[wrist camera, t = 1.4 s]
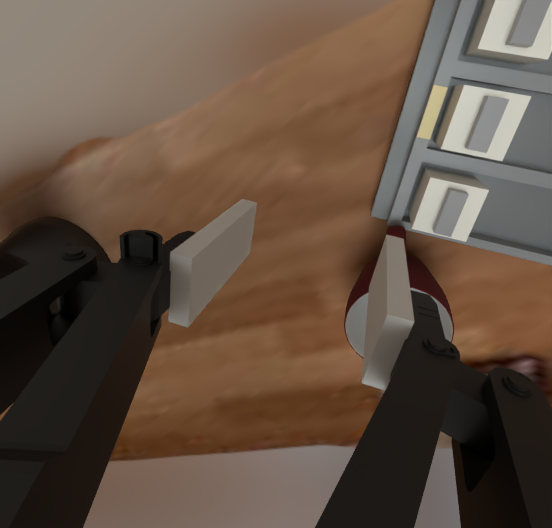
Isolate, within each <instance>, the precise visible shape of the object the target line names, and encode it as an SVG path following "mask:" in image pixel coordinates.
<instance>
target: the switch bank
mask: <svg viewBox="0 0 552 528" xmlns="http://www.w3.org/2000/svg"><path fill="white" fill-rule="evenodd" d="M482 2H483V0H434V2H433V6H432V9H431V12H430V16H429V19H428V22H427V26H426V29H425V32H424V36H423V39H422V42H421V46H420V49H419V52H418V56H417V59H416V62H415V66H414V69H413V72H412V76H411V79H410V82H409V86H408V89H407V92H406V96H405V99H404V102H403V106H402V109H401V112H400V115H399V119H398V122H397V125H396V129H395V132H394V135H393V139H392V142H391V145H390V149H389V152H388V155H387V159H386V162H385V165H384V169H383V172H382V175H381V179H380V182H379V185H378V189H377V192H376V195H375V199H374V202H373V205H372V209H371V215H370V216H372V217H376V218H381V219H385V220H387V226H395V225H397V226H402V227H404V228H405V230H408V231H412V232H416V233H420V234H424V235H428V236H433V237H437V238H441V239H445V240H449V241H453V242H457V243H461V244H465V245H469V246H474V247H478V248H482V249H486V250H490V251H494V252H498V253H502V254H506V255H511V256H515V257H519V258H523V259H527V260H531V261H535V262H539V263H543V264H547V265H552V52H551V54H550V56H549V59H548V60H544V61H539V62H534V63H529V64H524V65H521V64H515V63H508V62H502V61H496V60H490V59H484V58H477V57H471V56H465V55H464V53H465V50H466V47H467V44H468V41H469V38H470V36H471V33H472V30H473V27H474V24H475V21H476V19H477V16H478V13H479V10H480V7H481V4H482ZM457 85H469V86H474V87H480V88H486V89H492V90H498V91H503V92H509V93H515V94H521V95H526V96H531V99H530V101H529V103H528V105H527V108H526V110H525V112H524V114H523V116H522V119H521V121H520V123H519V125H518V127H517V130H516V132H515V134H514V136H513V139H512V141H511V143H510V145H509V147H508V150H507V152H506V154H505V156H504V159H503V161H498V160H493V159H488V158H483V157H478V156H473V155H469V154H464V153H459V152H454V151H449V150H444V149H441V148H440V147H439V146H438V145H437V144H436V143H435V142H434V141H433V140H434V138H435V135H436V132H437V129H438V126H439V123H440V121H441V118H442V115H443V112H444V109H445V106H446V104H447V101H448V98H449V95H450V92H451V89H452V87H453V86H457ZM424 166H426V167H430V168H435V169H440V170H445V171H449V172H454V173H459V174H463V175H468V176H473V177H476V178H477V179H478V180H479V181H480V182H481V183H482V184H483V185H484V186H485V187H486V188H487V189H488V190H489V192H488V194H487V196H486V198H485V201H484V203H483V205H482V207H481V210H480V212H479V214H478V216H477V218H476V221H475V223H474V225H473V227H472V230H471V232H470V234H469V236H468V238H467V241H466V242H464V241H460V240H456V239H452V238H448V237H443V236H439V235H435V234H431V233H427V232H423V231H419V230H415V229H412V228H411V223H410V218H409V213H408V211H409V209H410V206H411V203H412V200H413V197H414V194H415V192H416V189H417V186H418V183H419V180H420V177H421V175H422V172H423V169H424Z"/></svg>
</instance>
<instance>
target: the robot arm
mask: <svg viewBox="0 0 552 528" xmlns="http://www.w3.org/2000/svg"><path fill="white" fill-rule="evenodd" d="M256 208H257V202H253V201H249V200H245V199H241V200H240V201H238V202H237V203H236V204H234V205H233V206H232V207H230V208H229V209H228V210H226V211H225V212H224V213H222V214H221V215H220V216H218V217H217V218H216V219H214V220H213V221H212V222H210V223H209V224H208V225H206V226H205V227H204V228H202V229H201V230H199V231H198V232H197V233H195V232H191V231H186V232H183V233H179V234H177V235H176V236H174V237H173V238H171V240H168V241H167V242H165V244H162V240H163V237H162V236H161V235H160V234H158V233H156V232H153V231H148V230H132V231H128V232H124V233H123V234H121V235H120V251H121V259H120V260H119V262H118V263H110V262H109V260H108V258H107V256H106V255H105V253H104V252H103V250H102V249H101V248H100V246H99V245H98V244H97V243H96V242H95V241H94V240H93V239H92V238H91V237H90V236H89V235H88V234H87V233H86V232H84V231H83V230H82V229H80V228H79V227H77V226H75V225H74V224H72V223H70V222H67V221H65V220H62V219H58V218H51V217H46V218H39V219H36V220H34V221H31V222H28V223H26V224H23V225H21V226H19V227H18V228H16V229H15V230H14V231H13V232H12V233H11V234H10V235H9V236H8V237H7V238H6V239H4V240H3V241H2V242H1V243H0V415H1V414H2V413H3V412H4V411H5V410H6V409H7V408H8V407H9V406H10V405H12V404H13V405H12V406H11V407H10V409H9V410H8V412H7V413H6V414H5V416H4V417H3V418H2V420H1V421H0V528H83V526H84V523H85V521H86V518H87V516H88V513H89V511H90V508H91V506H92V503H93V500H94V498H95V495H96V493H97V490H98V488H99V485H100V482H101V479H102V477H103V475H104V472H105V469H106V467H107V464H108V462H109V459H110V457H111V454H112V451H113V449H114V446H115V444H116V441H117V439H118V436H119V433H120V431H121V428H122V426H123V423H124V420H125V418H126V415H127V413H128V410H129V408H130V405H131V402H132V400H133V397H134V395H135V392H136V389H137V387H138V384H139V382H140V379H141V377H142V374H143V371H144V369H145V366H146V364H147V361H148V359H149V356H150V353H151V351H152V348H153V346H154V343H155V340H156V338H157V335H158V333H159V330H160V328H161V315H162V314H163V313H164V312H165V311H166V310H167V309H168V308H169V314H168V321H169V322H172V323H175V324H178V325H181V326H185V327H189V326H190V325H191V323H192V322H193V321H194V320H195V319H196V317H197V316H198V315H199V314H200V313H201V312H202V310H203V309H204V308H205V307H206V306H207V304H208V303H209V302H210V301H211V300H212V298H213V297H214V296H215V295H216V294H217V292H218V291H219V290H220V289H221V288H222V286H223V285H224V284H225V283H226V282H227V280H228V279H229V278H230V277H231V276H232V275H233V273H234V272H235V271H236V270H237V269H238V267H239V266H240V265H241V264H242V263H243V261H244V260H245V259H246V258H247V257H248V255H249V254H250V250H251V243H252V236H253V229H254V222H255V215H256ZM440 319H441V318H440V314H439V310H438V306H437V303H436V302H435V301H434V300H433V299H432V297H431V296H430V295H428V294H424V293H420V292H417V291H413V290H410V284H409V276H408V268H407V260H406V253H405V245H404V239H402V238H398V237H394V236H390V235H386V237H385V240H384V243H383V246H382V249H381V252H380V255H379V258H378V261H377V264H376V267H375V270H374V273H373V276H372V279H371V282H370V285H369V295H368V307H367V320H366V332H365V345H364V357H363V370H362V382H361V383H363V384H366V385H369V386H373V387H376V388H379V389H382V390H385V392H384V394H383V396H382V398H381V400H380V402H379V404H378V406H377V408H376V410H375V412H374V414H373V416H372V418H371V420H370V422H369V424H368V425H367V427H366V429H365V431H364V433H363V435H362V437H361V439H360V441H359V443H358V445H357V447H356V449H355V451H354V453H353V455H352V457H351V459H350V461H349V463H348V464H347V466H346V468H345V471H344V472H343V474H342V476H341V478H340V480H339V482H338V484H337V486H336V488H335V490H334V492H333V494H332V496H331V498H330V500H329V502H328V503H327V505H326V508H325V509H324V511H323V513H322V515H321V517H320V519H319V521H318V523H317V525H316V527H315V528H414V526H415V522H416V518H417V514H418V510H419V507H420V503H421V500H422V496H423V492H424V489H425V485H426V481H427V478H428V474H429V470H430V466H431V463H432V459H433V456H434V452H435V448H436V445H437V441H438V437H439V434H440V431H442V432H443V433H445V434H447V435H448V436H450V437H452V449H453V458H454V467H455V476H456V485H457V495H458V504H459V513H460V522H461V528H552V410H551V408H550V405H549V403H548V401H547V398H546V396H545V394H544V393H543V391H542V390H541V389H540V387H539V386H538V385H536V384H535V383H534V382H533V381H532V380H531V379H530V378H528V377H527V376H525V375H523V374H521V373H519V372H516V371H514V370H512V369H507V368H503V367H500V368H494V369H493V370H491V371H490V373H489V375H488V376H487V375H485V374H483V373H481V372H479V371H477V370H475V369H473V368H471V367H469V366H467V365H465V364H464V363H462V362H461V361H460V353H459V351H458V349H457V348H456V346H454V345H453V344H452V343H451V342H450V341H449V340H447V339H445V335H444V331H443V327H442V323H441V320H440ZM389 380H391V381H390V383H389ZM388 383H389V385H388ZM387 385H388V387H387ZM386 387H387V388H386Z"/></svg>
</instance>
